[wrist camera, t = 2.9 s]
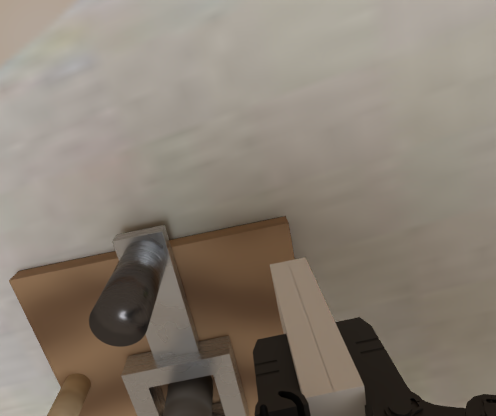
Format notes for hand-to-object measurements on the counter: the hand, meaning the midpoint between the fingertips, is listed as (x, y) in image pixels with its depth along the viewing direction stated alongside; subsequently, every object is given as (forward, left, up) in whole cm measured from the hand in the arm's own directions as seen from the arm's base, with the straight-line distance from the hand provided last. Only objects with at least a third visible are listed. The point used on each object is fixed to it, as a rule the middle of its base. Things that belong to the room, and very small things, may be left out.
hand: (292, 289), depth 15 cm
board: (-12, +8, -9) cm, 17 cm away
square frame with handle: (-7, +8, -8) cm, 13 cm away
